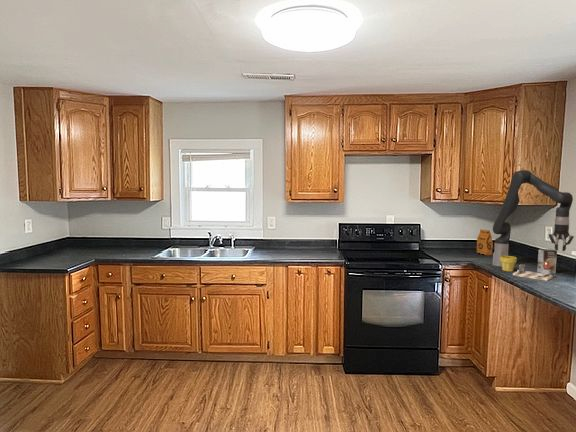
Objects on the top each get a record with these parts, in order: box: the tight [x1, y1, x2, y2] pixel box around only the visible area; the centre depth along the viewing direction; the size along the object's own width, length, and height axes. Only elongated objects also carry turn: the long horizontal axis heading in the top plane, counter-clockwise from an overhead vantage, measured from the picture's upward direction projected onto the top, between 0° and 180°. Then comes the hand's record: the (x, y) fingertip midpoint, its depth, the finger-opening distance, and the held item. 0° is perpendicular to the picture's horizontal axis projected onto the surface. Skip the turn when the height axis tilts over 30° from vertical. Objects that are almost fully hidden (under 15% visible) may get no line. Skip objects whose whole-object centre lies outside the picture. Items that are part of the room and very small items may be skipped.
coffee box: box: [536, 248, 558, 274], centre depth 271 cm, size 9×6×16 cm
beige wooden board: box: [512, 263, 554, 282], centre depth 258 cm, size 20×12×6 cm, turn 41°
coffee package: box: [476, 229, 494, 256], centre depth 343 cm, size 10×12×22 cm
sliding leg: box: [542, 261, 551, 277], centre depth 253 cm, size 4×8×9 cm, turn 131°
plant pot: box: [500, 255, 518, 272], centre depth 277 cm, size 10×10×10 cm
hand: (560, 250), depth 248 cm, fingers open, 3 cm apart
